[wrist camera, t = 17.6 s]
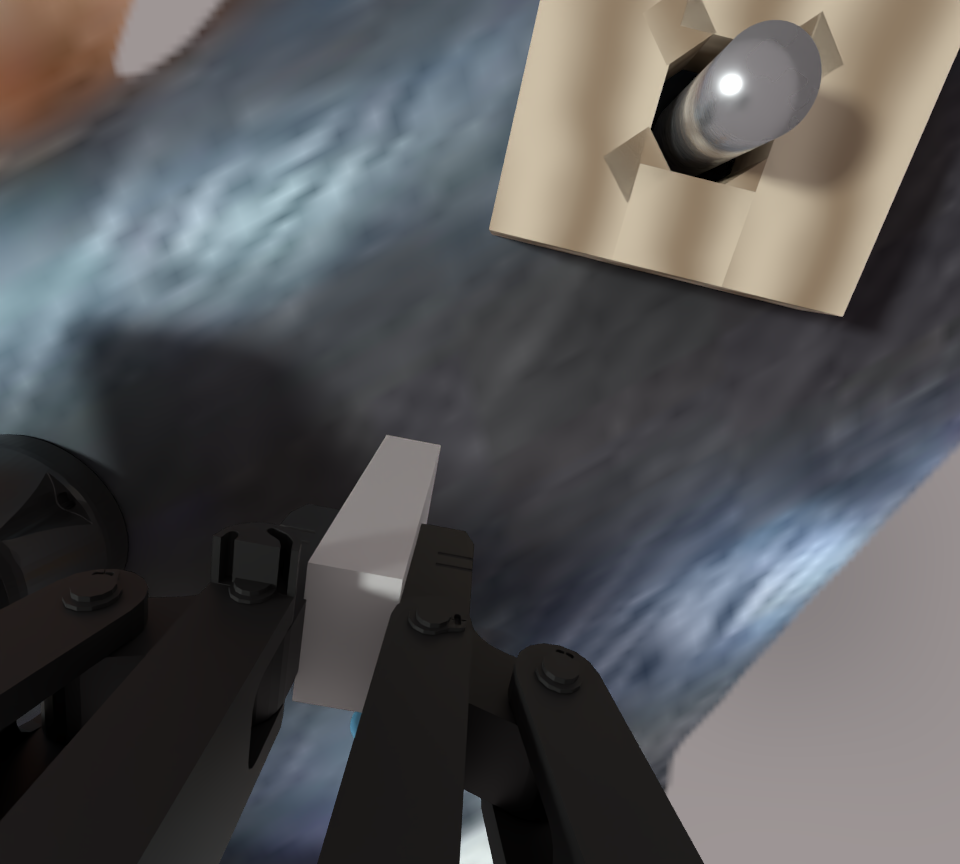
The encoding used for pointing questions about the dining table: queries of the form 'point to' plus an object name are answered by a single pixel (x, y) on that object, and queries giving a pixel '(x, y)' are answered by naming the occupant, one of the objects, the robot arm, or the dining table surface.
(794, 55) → the grey metal peg
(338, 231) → the dining table surface
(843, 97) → the jig
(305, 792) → the dining table surface
